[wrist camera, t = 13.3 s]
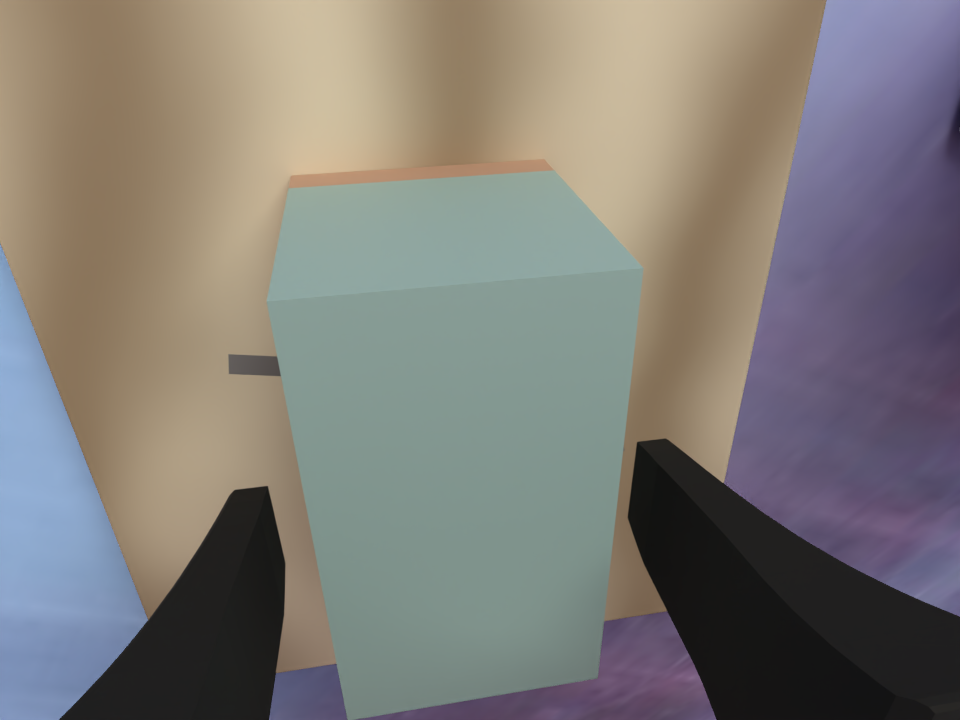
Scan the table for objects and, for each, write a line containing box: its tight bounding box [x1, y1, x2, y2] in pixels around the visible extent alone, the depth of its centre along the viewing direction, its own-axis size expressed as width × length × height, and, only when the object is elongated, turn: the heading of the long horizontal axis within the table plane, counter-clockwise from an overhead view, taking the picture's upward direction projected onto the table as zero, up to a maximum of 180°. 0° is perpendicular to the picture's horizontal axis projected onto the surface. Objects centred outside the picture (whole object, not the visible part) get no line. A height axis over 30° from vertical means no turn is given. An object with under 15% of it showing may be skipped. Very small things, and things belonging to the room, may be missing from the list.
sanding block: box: [267, 159, 644, 720], centre depth 14 cm, size 5×9×6 cm, turn 1°
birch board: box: [0, 0, 826, 673], centre depth 17 cm, size 16×18×2 cm
